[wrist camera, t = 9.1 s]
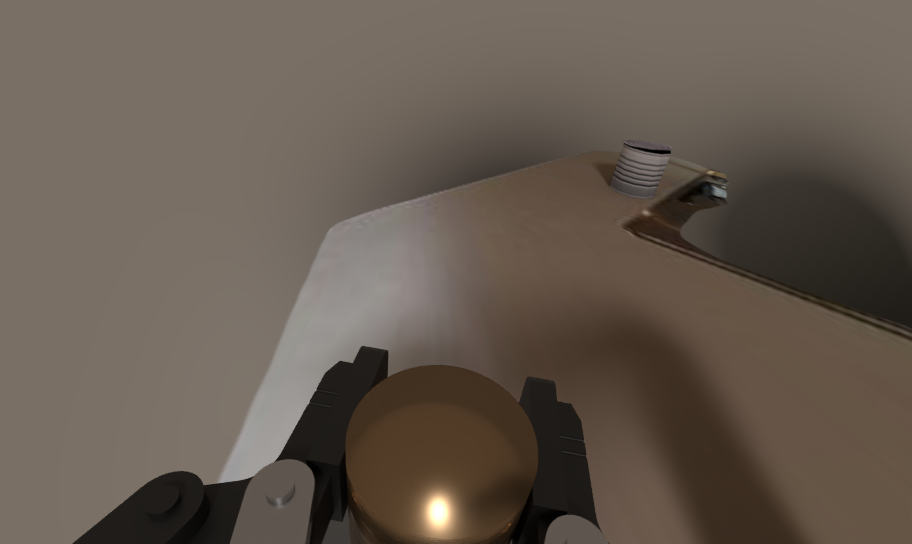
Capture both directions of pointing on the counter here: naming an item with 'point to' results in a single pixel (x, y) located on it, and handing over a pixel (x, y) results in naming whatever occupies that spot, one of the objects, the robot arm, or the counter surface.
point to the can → (640, 168)
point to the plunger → (438, 460)
